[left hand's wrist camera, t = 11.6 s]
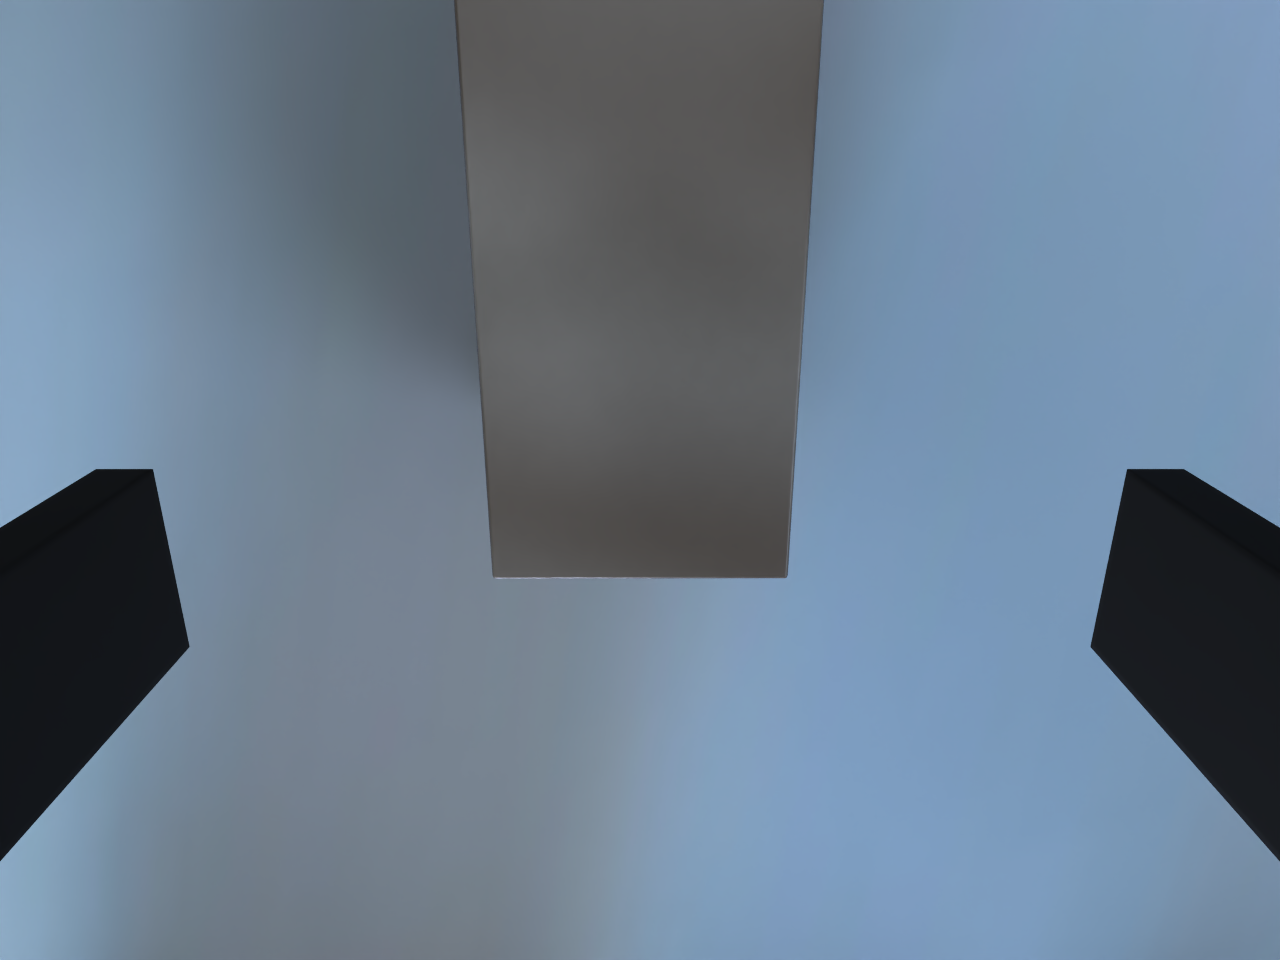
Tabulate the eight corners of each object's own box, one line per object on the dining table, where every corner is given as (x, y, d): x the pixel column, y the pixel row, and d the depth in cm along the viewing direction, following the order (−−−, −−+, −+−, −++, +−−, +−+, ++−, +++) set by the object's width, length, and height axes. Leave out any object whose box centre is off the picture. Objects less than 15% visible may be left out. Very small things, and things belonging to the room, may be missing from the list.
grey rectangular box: (513, -352, 23) (399, -789, 12) (764, -353, 23) (874, -790, 12) (544, 422, 30) (491, 580, 20) (735, 421, 30) (788, 579, 20)
